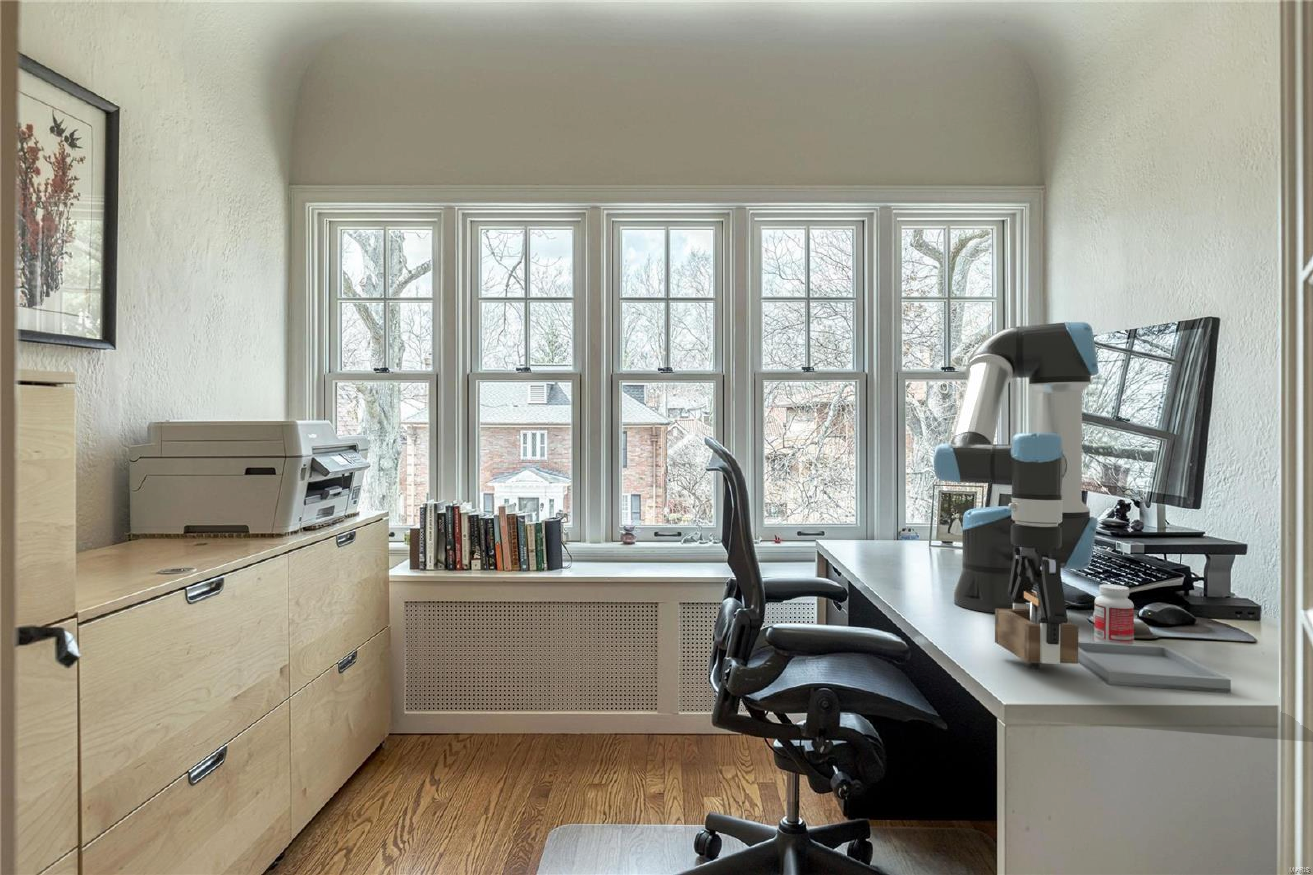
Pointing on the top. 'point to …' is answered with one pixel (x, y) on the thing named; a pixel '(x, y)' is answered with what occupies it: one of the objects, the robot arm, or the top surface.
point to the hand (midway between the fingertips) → (1034, 651)
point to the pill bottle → (1114, 615)
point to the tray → (1148, 667)
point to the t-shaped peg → (1033, 614)
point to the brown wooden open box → (1032, 636)
